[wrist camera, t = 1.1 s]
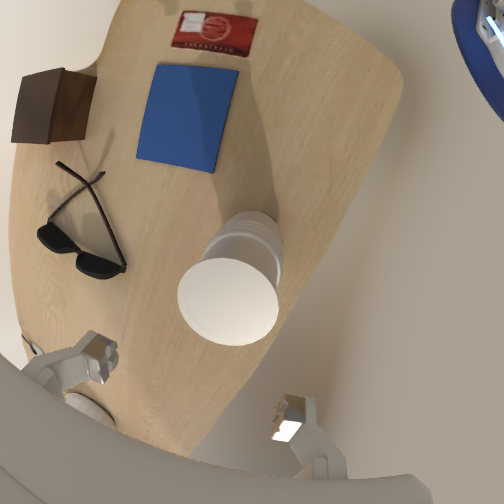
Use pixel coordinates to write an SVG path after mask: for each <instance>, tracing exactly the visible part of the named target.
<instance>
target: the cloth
mask: <svg viewBox="0 0 504 504" xmlns="http://www.w3.org/2000/svg"><path fill="white" fill-rule="evenodd" d="M237 76H238V71H233V70H226V69H218V68H208V67H197V66H183V65H157V67H156V70H155V74H154V77H153V81H152V85H151V88H150V92H149V96H148V100H147V105H146V109H145V113H144V118H143V123H142V127H141V133H140V138H139V143H138V149H137V155H136V158H137V159H143V160H149V161H155V162H160V163H166V164H171V165H176V166H181V167H186V168H191V169H196V170H201V171H205V172H210V173H214V169H215V164H216V160H217V155H218V151H219V147H220V142H221V138H222V134H223V130H224V126H225V121H226V117H227V113H228V110H229V106H230V102H231V98H232V94H233V90H234V87H235V83H236V79H237Z"/></svg>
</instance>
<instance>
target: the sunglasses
mask: <svg viewBox="0 0 504 504" xmlns="http://www.w3.org/2000/svg"><path fill="white" fill-rule="evenodd" d="M55 165H57V166H58V167H60V168H61V169H63V170H65V171H66V172H68V173H69V174H71V175H72V176H74V177H75V178H77V179H78V180H80V181H81V182H82V183H83V184H84V185H85V186H84V187H82V188H81V189H79V190H78V191H77V192H75V193H74V194H73V195H72V196H70V197H69V198H68V199H67V200H66V201H65V202H64V203H62V204H61V205H60V206H59V207H58V208H57V209H56V210H55V211H54V212H53V214H52V215H51V216H50V217H49V218H48V222H47V225H44V226H42V227H40V228H39V229H38V231H37V237H38V239H39V240H40V241H41V243H42V244H43V245H44V246H45V247H47V248H48V249H49V250H51V251H53V252H55V253H59V254H64V253H73V252H76V253H77V254H78V256H77V259H76V268H77V269H78V270H79V271H81V272H82V273H84V274H86V275H88V276H91V277H93V278H96V279H109V278H112V277H114V276H116V275H117V274H119V273H125V272H126V267H125V266H126V265H127V264H126V262H125V260H124V257H123V255H122V253H121V250H120V248H119V246H118V243H117V241H116V238H115V236H114V234H113V232H112V229H111V227H110V225H109V222H108V220H107V218H106V216H105V213H104V211H103V209H102V207H101V205H100V203H99V201H98V199H97V196H96V195H95V193H94V191H93V189H92V188H91V186H90V185H92V184H93V183H95V182H97V181H98V180H99V179H100V178H101V177H102V176H103V175H104V174H105V171H104V172H99V174H98V175H97V177H96V178H95V179H94V180H93V181H92V182H90V183H88V182H87V181H86V180H85V179H83V178H82V177H81V176H80V175H78V174H77V173H75V172H74V171H73V170H71V169H70V168H68V167H67V166H66V165H64V164H63V163H61V162H60V161H58V162H56V163H55ZM85 188H88V190H89V191H90V193H91V195H92V196H93V198H94V200H95V203H96V205H97V207H98V209H99V211H100V213H101V216H102V218H103V220H104V223H105V225H106V227H107V230H108V232H109V234H110V237H111V239H112V241H113V244H114V246H115V249H116V251H117V253H118V256H119V258H120V260H121V262H122V266H120V265H118V264H116V263H114V262H111V261H109V260H106V259H104V258H101V257H98V256H96V255H93V254H90V253H88V252H85V251H82V250H81V249H80V248H79V247H78V246H77V245H76V244H75V243H74V242H73V241H72V240H71V239H70V238H69V237H68V236H67V235H66V234H65V233H64V232H63V231H61V230H60V229H59V228H58V227H57V226H55V225H54V224H53V223H52V222H51V219H52V217H53V216H54V215H55V214H56V213H57V212H58V211H59V210H60V209H61V208H62V207H63V206H64V205H65V204H66V203H67V202H69V201H70V200H71V199H72V198H73V197H74V196H76V195H77V194H78V193H80V192H81V191H82V190H84V189H85Z"/></svg>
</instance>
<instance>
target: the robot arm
mask: <svg viewBox="0 0 504 504" xmlns="http://www.w3.org/2000/svg"><path fill="white" fill-rule="evenodd" d="M476 31H477V33H478V34H479V36H480V37H481V39H482V40H483V41H484V43H485V44H486V46H487V47H488V49H489V51H490V53H491V56H492V58H493V60H494V62H495V64H496V66H497V68H498V70H499V72H500V73H501V75H502V77H503V78H504V0H480V3H479V10H478V17H477V23H476ZM116 349H117V342H115V341H113V340H111V339H109V338H107V337H105V336H103V335H100V334H98V333H96V332H94V331H92V330H90V331H88V332H87V333H86V334H85V335H84V336H83V337H82V339H81V340H80V341H79V342H78V343H77V344H76V345H75V346H74V347H73V348H71V347H69V348H65V349H62V350H58V351H55V352H51V353H47V354H44V355H40V356H36V357H34V358H33V359H32V360H31V361H30V362H29V363H28V364H27V365H26V366H25V367H24V368H23V369H22V370H21V371H20V370H19V369H18V368H17V367H15V366H14V365H13V364H12V363H11V362H9V361H8V360H7V359H6V358H5V357H4V356H3V355H1V354H0V504H433V501H432V496H431V492H430V490H429V489H428V488H427V487H426V486H425V485H424V484H423V483H422V482H421V481H420V480H419V479H418V478H416V477H415V476H414V475H412V474H404V475H397V476H390V477H380V478H368V479H351V480H350V479H349V480H348V478H347V467H346V458H345V457H344V456H343V454H342V453H341V452H340V451H339V449H338V448H337V447H336V446H335V444H334V443H333V442H332V441H331V439H330V438H329V437H328V435H327V434H326V433H325V432H324V430H323V429H322V428H321V426H318V425H317V414H316V400H315V399H314V398H309V397H303V396H297V395H291V394H285V393H284V394H283V395H282V396H281V401H280V402H279V403H278V404H277V406H276V408H275V411H274V415H273V421H274V423H275V424H274V426H273V428H272V437H271V438H272V439H274V440H280V441H285V442H288V443H289V445H290V447H291V448H292V450H293V452H294V454H295V456H296V458H297V459H298V461H299V463H300V465H301V467H302V468H303V469H302V470H301V471H300V472H299V473H298V474H297V475H295V476H294V477H293V478H288V477H277V476H269V475H263V474H256V473H249V472H244V471H239V470H234V469H229V468H225V467H220V466H216V465H212V464H208V463H204V462H201V461H197V460H194V459H190V458H187V457H184V456H180V455H177V454H174V453H171V452H168V451H166V450H163V449H160V448H157V447H155V446H152V445H149V444H147V443H144V442H142V441H139V440H137V439H135V438H132V437H130V436H128V435H126V434H123V433H121V432H119V431H117V430H115V429H113V428H111V427H109V426H107V425H105V424H103V423H101V422H99V421H97V420H95V419H93V418H91V417H89V416H88V415H86V414H84V413H82V412H81V411H79V410H77V409H75V408H74V407H72V406H70V405H69V404H67V403H66V400H65V398H64V395H63V393H62V392H63V391H65V390H67V389H70V388H72V387H74V386H76V385H78V384H80V383H82V382H84V381H87V380H89V378H90V379H92V380H94V381H96V382H98V383H100V384H102V385H104V383H105V382H106V380H107V379H108V378H109V372H111V371H113V370H114V369H115V367H116V366H117V363H118V358H119V357H118V353H117V351H116Z"/></svg>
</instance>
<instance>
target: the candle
mask: <svg viewBox="0 0 504 504" xmlns="http://www.w3.org/2000/svg"><path fill="white" fill-rule="evenodd" d="M282 246H283V238H282V233H281V231H280V228H279V226H278V225H277V224H276V223H275V221H274V220H273V219H272V218H271V217H269V216H268V215H267V214H265V213H262V212H259V211H246V212H241V213H239V214H236V215H234V216H233V217H232V218H231V219H229V220H228V221H227V223H226V224H225V226H223V227H222V228H221V229H220V230H219V231H218V232H217V233H216V235H215V236H214V237H213V238H212V240H211V241H210V242H209V243H208V245H207V246H206V248H205V249H204V251H203V254H202V257H201V260H200V261H198V262H197V263H196V264H194V265H193V266H192V267H191V268H189V269H188V270H187V272H186V273H185V275H184V276H183V278H182V279H181V281H180V284H179V288H178V292H177V293H178V305H179V308H180V311H181V314H182V315H183V317H184V319H185V320H186V322H187V323H188V325H189V326H190V327H191V328H192V329H193V330H194V331H195V332H197V333H198V334H200V335H201V336H203V337H204V338H206V339H208V340H210V341H213V342H215V343H218V344H223V345H229V346H237V345H245V344H249V343H253V342H255V341H257V340H259V339H261V338H263V337H264V336H265V335H266V334H267V333H268V332H269V331H270V330H271V329H272V327H273V325H274V324H275V322H276V320H277V315H278V310H279V301H278V294H277V291H276V289H277V287H278V285H279V283H280V281H281V275H282V261H283V250H282Z"/></svg>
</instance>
